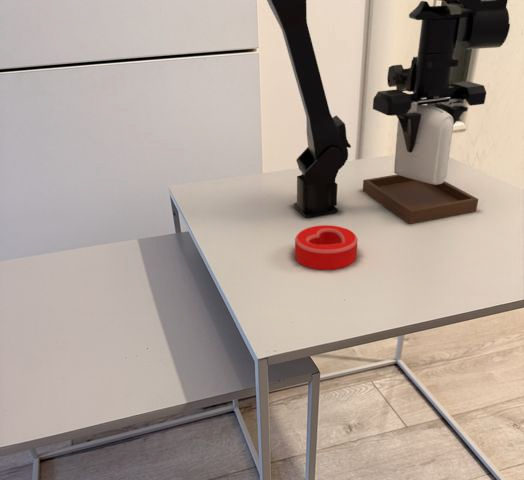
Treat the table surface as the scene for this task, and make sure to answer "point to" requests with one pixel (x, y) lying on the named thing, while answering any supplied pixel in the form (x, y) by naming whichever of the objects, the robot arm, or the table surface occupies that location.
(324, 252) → the decorative ornament
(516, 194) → the table surface
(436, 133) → the photo printer
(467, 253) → the table surface
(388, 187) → the tray
